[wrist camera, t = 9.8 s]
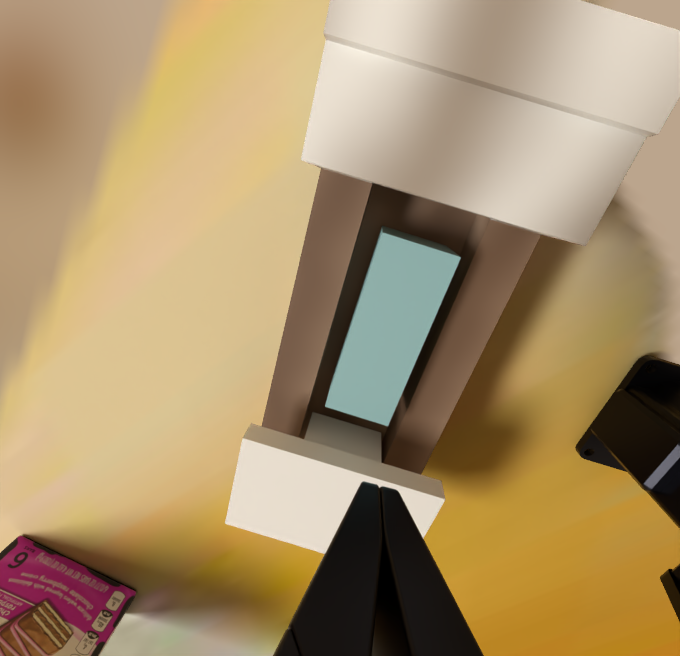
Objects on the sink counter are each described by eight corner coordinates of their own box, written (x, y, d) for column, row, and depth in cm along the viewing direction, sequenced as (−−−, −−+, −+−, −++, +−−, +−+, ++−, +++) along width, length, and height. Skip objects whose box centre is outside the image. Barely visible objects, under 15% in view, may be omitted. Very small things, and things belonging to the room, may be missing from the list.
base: (575, 104, 13) (712, 39, 8) (404, 467, 21) (412, 564, 16) (359, 38, 13) (344, -71, 8) (267, 425, 21) (226, 508, 16)
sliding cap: (430, 431, 18) (445, 499, 14) (397, 501, 20) (401, 576, 16) (273, 384, 18) (242, 438, 14) (255, 458, 20) (224, 523, 16)
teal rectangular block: (386, 390, 18) (387, 426, 15) (333, 374, 18) (324, 406, 15) (446, 245, 15) (460, 257, 12) (382, 225, 15) (382, 232, 12)
